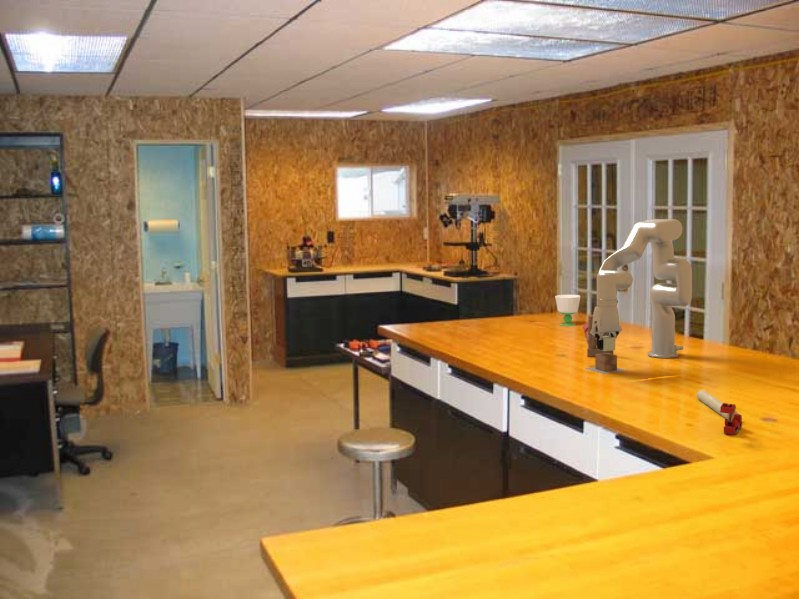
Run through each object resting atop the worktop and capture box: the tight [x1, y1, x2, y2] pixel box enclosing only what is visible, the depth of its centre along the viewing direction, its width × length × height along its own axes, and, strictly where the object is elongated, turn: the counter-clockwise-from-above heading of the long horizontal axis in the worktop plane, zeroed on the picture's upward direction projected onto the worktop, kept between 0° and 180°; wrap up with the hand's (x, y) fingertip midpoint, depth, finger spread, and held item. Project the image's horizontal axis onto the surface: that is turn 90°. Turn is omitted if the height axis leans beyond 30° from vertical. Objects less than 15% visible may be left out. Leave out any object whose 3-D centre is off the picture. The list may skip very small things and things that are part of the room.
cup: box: [554, 294, 581, 327], centre depth 454 cm, size 14×14×16 cm
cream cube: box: [598, 336, 616, 351], centre depth 330 cm, size 5×5×5 cm
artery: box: [582, 322, 588, 342], centre depth 410 cm, size 42×5×5 cm, turn 171°
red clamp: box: [720, 402, 743, 435], centre depth 242 cm, size 3×14×10 cm, turn 145°
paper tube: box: [696, 389, 739, 419], centre depth 268 cm, size 4×30×4 cm, turn 179°
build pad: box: [584, 366, 628, 375], centre depth 332 cm, size 12×12×1 cm
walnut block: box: [594, 353, 618, 372], centre depth 331 cm, size 6×6×6 cm
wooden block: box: [586, 314, 614, 358], centre depth 362 cm, size 4×11×18 cm, turn 67°
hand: (606, 348), depth 331 cm, fingers closed on cream cube, 5 cm apart
